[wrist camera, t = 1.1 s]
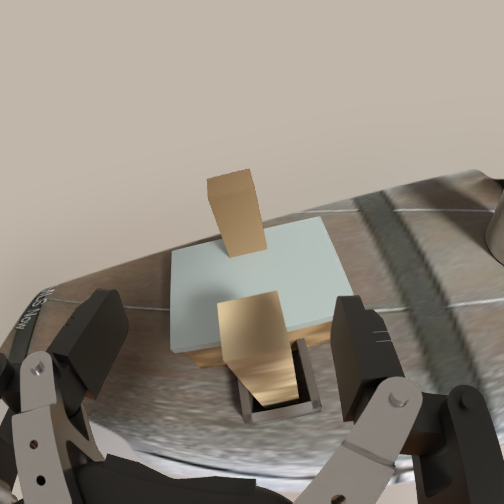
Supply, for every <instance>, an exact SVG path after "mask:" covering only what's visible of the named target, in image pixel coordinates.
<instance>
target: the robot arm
mask: <svg viewBox="0 0 504 504" xmlns="http://www.w3.org/2000/svg"><path fill="white" fill-rule="evenodd" d="M485 240H486V243H487V246H488V248H489V250H490V251H491V253H492V254H493V255H494V257H495V258H496V259H497V260H498V261H499V262H501V263H502V264H503V265H504V191H503V193H502V196H501V198H500V200H499V203H498V205H497V207H496V210H495V212H494V214H493V216H492V218H491V221H490V223H489V225H488V227H487V229H486V232H485ZM128 327H129V326H128V319H127V317H126V314H125V311H124V308H123V305H122V302H121V299H120V296H119V293H118V292H117V291H116V290H115V289H101V288H98V289H96V290H95V292H94V293H93V294H92V296H91V297H90V298H89V299H88V300H86V301H85V302H84V303H82V304H81V305H80V306H78V307H77V308H76V310H75V311H74V312H73V314H72V315H71V316H70V318H69V319H68V320H67V322H66V323H65V326H63V327H62V329H61V330H60V332H59V333H58V334H57V336H56V337H55V339H54V340H53V342H52V343H51V345H50V346H49V347H48V349H47V350H46V352H44V351H38V352H35V353H32V354H31V355H29V356H28V357H27V358H26V359H25V360H24V361H23V363H15V364H11V363H10V362H9V361H8V359H7V358H6V356H5V355H4V354H3V353H0V399H2V400H3V401H4V402H5V403H6V404H7V405H8V407H9V409H8V411H7V413H6V415H5V417H4V419H3V421H2V423H1V425H0V504H375V503H376V502H377V500H378V499H379V497H380V495H381V493H382V492H383V490H384V489H385V487H386V485H387V484H388V482H389V480H390V479H391V477H392V475H393V473H394V470H395V465H394V464H395V461H396V459H397V457H398V455H399V454H405V455H412V461H413V467H414V474H415V482H416V490H417V500H418V504H504V459H503V456H502V452H501V448H500V445H499V441H498V438H497V435H496V432H495V429H494V426H493V423H492V420H491V417H490V414H489V411H488V408H487V406H486V403H485V400H484V398H483V396H482V395H481V393H480V392H479V391H478V390H477V389H475V388H474V387H472V386H468V385H460V386H457V387H455V388H454V389H452V391H451V392H450V393H449V394H448V395H438V394H430V393H424V392H421V390H420V388H419V387H418V386H417V385H416V384H415V383H414V382H413V381H411V380H409V379H407V378H405V376H404V373H403V370H402V367H401V365H400V362H399V359H398V356H397V354H396V351H395V349H394V346H393V343H392V342H391V338H390V336H389V333H387V328H386V326H385V323H384V321H383V319H382V318H381V317H380V316H379V315H378V314H377V313H376V312H375V311H374V310H373V309H372V310H365V308H364V306H363V303H362V300H361V298H360V296H359V295H354V296H338V297H337V299H336V304H335V310H334V315H333V320H332V325H331V332H330V342H331V349H332V354H333V360H334V365H335V371H336V377H337V383H338V389H339V395H340V401H341V408H342V415H343V422H347V421H354V427H353V428H352V430H351V431H350V433H349V434H348V436H347V437H346V439H345V440H344V441H343V442H342V443H341V445H340V446H339V447H338V448H337V450H336V451H335V453H334V454H333V455H332V457H331V458H330V459H329V461H328V462H327V463H326V464H325V466H324V467H323V468H322V470H321V471H320V472H319V473H318V475H317V476H316V477H315V478H314V479H313V481H312V482H311V483H310V484H309V485H308V487H307V488H306V489H305V490H304V491H303V492H302V494H301V495H300V496H299V497H298V498H297V499H296V500H295V501H294V503H293V502H291V501H290V500H289V499H287V498H285V497H284V496H282V495H280V494H278V493H276V492H274V491H271V490H269V489H266V488H263V487H259V486H256V479H244V478H230V477H219V476H212V477H202V478H188V479H173V478H170V477H168V476H166V475H163V474H161V473H159V472H157V471H155V470H153V469H151V468H149V467H147V466H145V465H143V464H141V463H139V462H135V461H131V460H128V459H124V458H120V457H117V456H114V455H110V454H107V457H106V459H104V457H103V456H102V454H101V453H100V451H99V450H98V448H97V446H96V444H95V441H94V438H93V435H92V431H91V427H90V424H89V420H88V417H87V413H86V409H85V406H84V404H83V402H82V400H83V398H84V396H85V397H88V398H92V399H95V400H96V398H97V396H98V393H99V391H100V389H101V387H102V385H103V383H104V381H105V379H106V376H107V374H108V372H109V370H110V368H111V366H112V364H113V362H114V360H115V358H116V356H117V354H118V352H119V350H120V348H121V346H122V344H123V342H124V340H125V338H126V336H127V334H128ZM17 474H18V476H19V481H20V486H21V491H22V495H23V499H21V500H19V501H18V499H17V497H16V496H15V495H13V494H12V489H13V486H14V483H15V480H16V476H17Z"/></svg>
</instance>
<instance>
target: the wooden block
mask: <svg viewBox="0 0 504 504" xmlns="http://www.w3.org/2000/svg"><path fill="white" fill-rule="evenodd" d="M217 308H218V318H219V328H220V337H221V347H222V356H223V361H224V362H225V363H226V364H227V365H228V367H229V368H230V369H231V370H232V371H233V373H234V374H235V375H236V376H237V377H238V379H239V380H240V381H241V382H242V383H243V384H244V385H245V387H246V388H247V389H248V390H249V391H250V392H251V394H252V395H253V396H254V397H255V398H256V399H257V400H258V401H259V402H260V404H261V405H262V406H263V407H264V408H265V409H268V408H273V407H278V406H283V405H288V404H292V403H297V402H300V401H299V395H298V388H297V382H296V376H295V370H294V364H293V358H292V352H291V346H290V342H289V338H288V333H287V329H286V325H285V321H284V316H283V312H282V308H281V304H280V300H279V295H278V291H277V290H276V291H271V292H267V293H263V294H258V295H254V296H249V297H245V298H240V299H235V300H231V301H226V302H221V303H217Z"/></svg>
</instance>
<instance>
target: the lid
mask: <svg viewBox="0 0 504 504" xmlns="http://www.w3.org/2000/svg"><path fill="white" fill-rule="evenodd" d="M207 189H208V200H209V203H210V205H211V208H212V211H213V214H214V216H215V219H216V222H217V225H218V227H219V230H220V233H221V236H222V238H223V239H219V240H215V241H210V242H206V243H202V244H198V245H194V246H190V247H186V248H182V249H178V250H174V251H172V263H171V295H170V350H172V351H173V352H174V353H181V352H188V351H194V350H200V349H206V348H212V347H218V346H221V337H220V328H219V318H218V308H217V303H221V302H226V301H231V300H235V299H240V298H245V297H249V296H254V295H258V294H263V293H267V292H271V291H276V290H277V291H278V295H279V300H280V304H281V308H282V312H283V316H284V321H285V325H286V329H287V332H290V331H294V330H298V329H302V328H306V327H310V326H314V325H318V324H322V323H326V322H330V321H332V320H333V315H334V310H335V304H336V299H337V297H338V296H354V294H353V292H352V289H351V287H350V284H349V282H348V279H347V277H346V275H345V272H344V270H343V267H342V265H341V263H340V260H339V258H338V256H337V253H336V251H335V249H334V246H333V244H332V242H331V240H330V237H329V235H328V233H327V231H326V229H325V226H324V224H323V222H322V220H321V218H320V216H318V217H314V218H309V219H305V220H300V221H296V222H292V223H287V224H283V225H278V226H274V227H270V228H265V229H263V224H262V219H261V215H260V210H259V206H258V201H257V197H256V192H255V187H254V184H253V180H252V176H251V172H250V169H245V170H241V171H237V172H233V173H229V174H225V175H221V176H217V177H213V178H209V179H207Z"/></svg>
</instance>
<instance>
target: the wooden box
mask: <svg viewBox="0 0 504 504" xmlns="http://www.w3.org/2000/svg"><path fill="white" fill-rule="evenodd" d="M331 325H332V321H330V322H326V323H322V324H318V325H314V326H310V327H306V328H302V329H298V330H294V331H290V332H287V333H288V338H289V342H290V346H291V351H295V350H298V353H299V358H300V362H301V366H302V370H303V374H304V379H305V383H306V387H307V391H308V396H309V400H310V402H305V403H301V404H297V405H292V406H288V407H283V408H278V409H273V410H268V411H262V412H256V410H255V404H254V398H253V395H252V394H251V392H250V391H249V390H248V389H247V388H246V387H245V385H244V384H243V383H242V382H241V381H240V380H239V379H238V377H237V379H238V386H239V393H240V399H241V406H242V413H243V419H244V423H246V424H247V425H249V426H252V425H259V424H265V423H270V422H276V421H281V420H286V419H290V418H295V417H300V416H304V415H308V414H312V413H316V412H320V411H321V408H322V406H321V401H320V397H319V393H318V389H317V385H316V381H315V377H314V373H313V369H312V365H311V361H310V357H309V353H308V350H307V347H311V346H315V345H319V344H323V343H327V342H330V332H331ZM184 353H185V354H186V355H187V356H189V357H190V358H191V359H192V360H193V361H194V362H195V363H196V364H197V365H198V366H199V367H200V368H201V369H202V368H208V367H215V366H221V365H227V364H226V363H225V362H224V361H223V356H222V347H221V346H218V347H212V348H206V349H200V350H194V351H188V352H184Z"/></svg>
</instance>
